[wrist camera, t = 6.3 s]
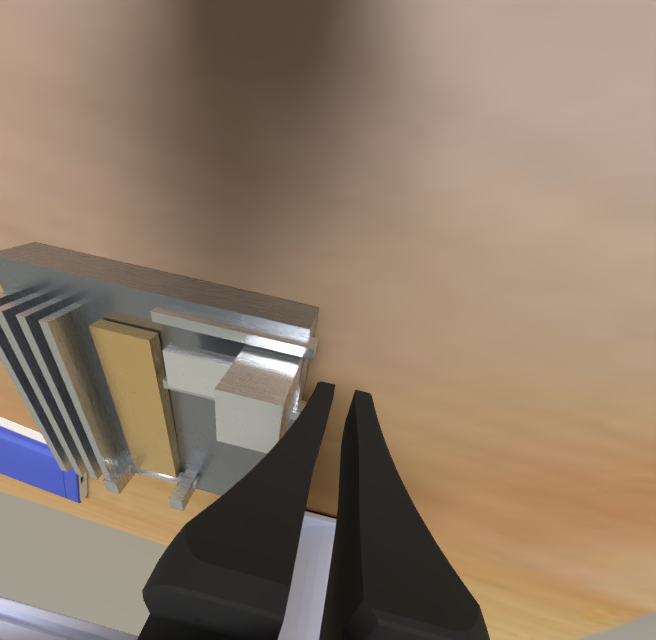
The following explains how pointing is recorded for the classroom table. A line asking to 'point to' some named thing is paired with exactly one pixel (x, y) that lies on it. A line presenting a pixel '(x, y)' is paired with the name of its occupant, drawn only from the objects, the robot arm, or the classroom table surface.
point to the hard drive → (36, 462)
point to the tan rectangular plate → (139, 394)
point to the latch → (240, 390)
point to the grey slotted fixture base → (172, 326)
